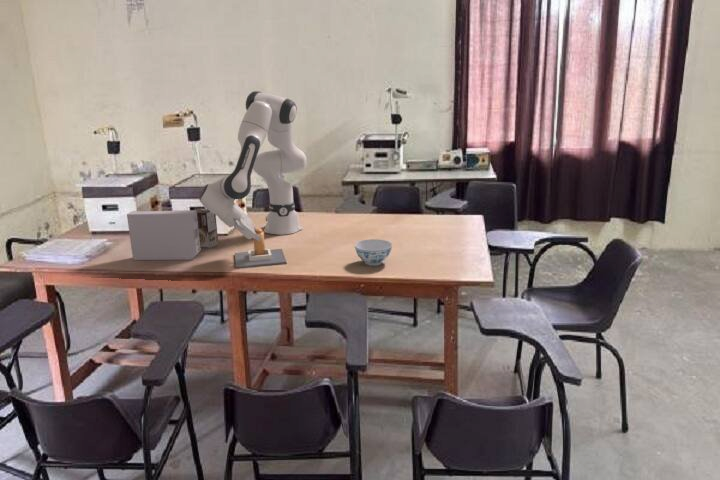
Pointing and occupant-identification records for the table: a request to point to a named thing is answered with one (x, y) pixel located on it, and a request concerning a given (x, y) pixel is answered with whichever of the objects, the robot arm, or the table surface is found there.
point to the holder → (259, 258)
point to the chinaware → (373, 250)
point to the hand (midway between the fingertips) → (260, 237)
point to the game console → (164, 234)
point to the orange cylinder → (259, 243)
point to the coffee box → (207, 228)
